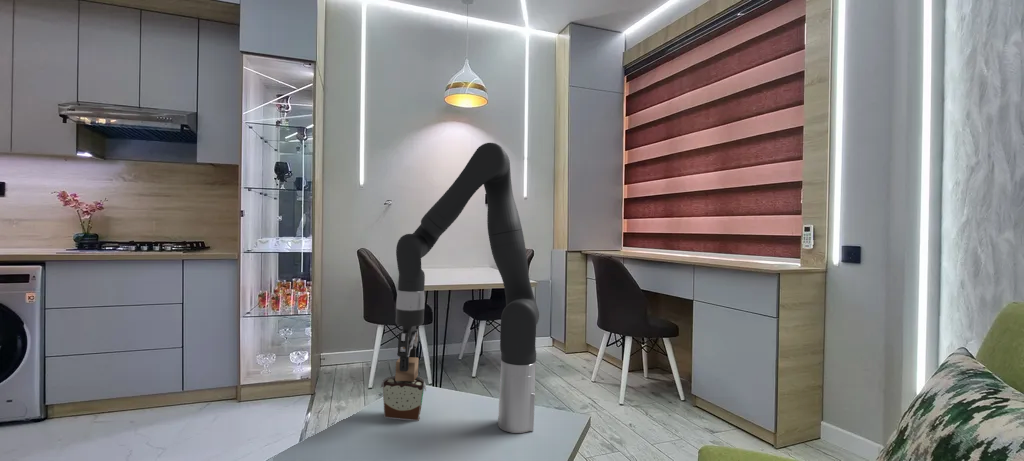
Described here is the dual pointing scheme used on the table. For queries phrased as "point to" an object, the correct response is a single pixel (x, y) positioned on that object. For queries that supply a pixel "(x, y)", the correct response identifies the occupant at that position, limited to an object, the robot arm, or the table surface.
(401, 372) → the walnut cube
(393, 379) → the food container
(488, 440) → the table surface
